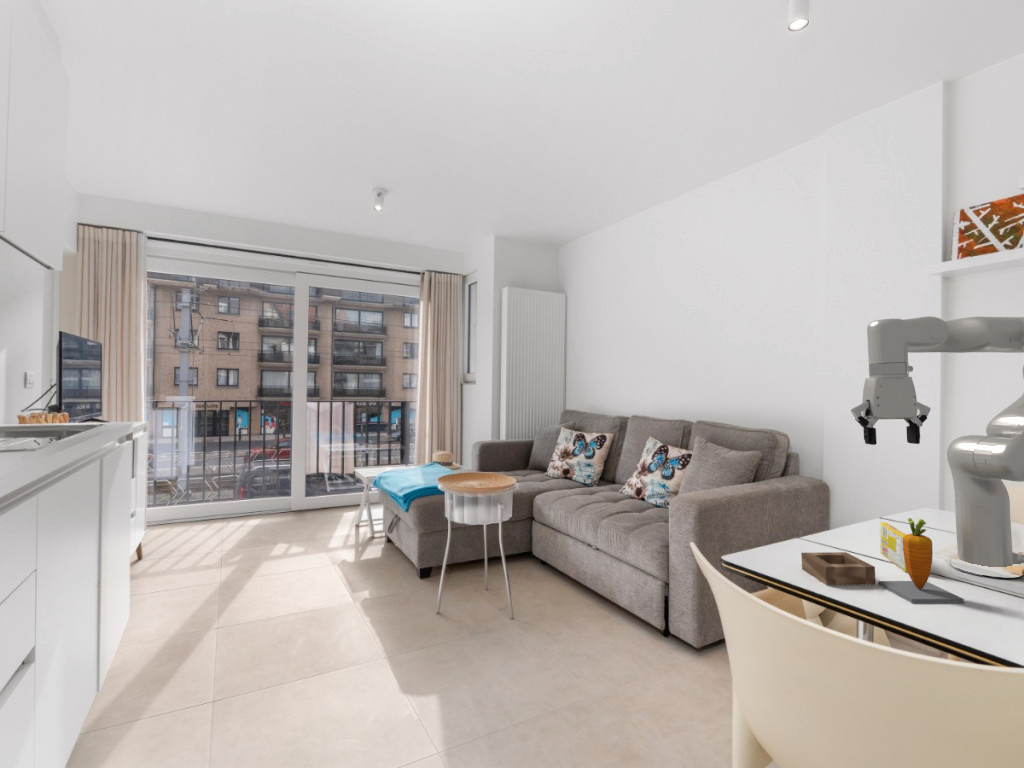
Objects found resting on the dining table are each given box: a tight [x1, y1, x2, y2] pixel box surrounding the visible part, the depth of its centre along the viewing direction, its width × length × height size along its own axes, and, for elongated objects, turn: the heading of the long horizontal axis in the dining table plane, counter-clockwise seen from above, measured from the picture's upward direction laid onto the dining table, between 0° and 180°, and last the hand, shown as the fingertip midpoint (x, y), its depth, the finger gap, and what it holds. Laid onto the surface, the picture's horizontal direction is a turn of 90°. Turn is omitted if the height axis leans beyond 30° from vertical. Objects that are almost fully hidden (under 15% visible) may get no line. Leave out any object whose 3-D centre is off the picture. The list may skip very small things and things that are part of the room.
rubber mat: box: [877, 580, 965, 604], centre depth 106 cm, size 10×10×1 cm
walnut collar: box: [800, 551, 877, 586], centre depth 116 cm, size 10×10×4 cm
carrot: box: [903, 517, 933, 590], centre depth 106 cm, size 5×5×15 cm
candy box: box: [879, 521, 908, 574], centre depth 125 cm, size 16×2×8 cm, turn 161°
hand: (892, 443), depth 118 cm, fingers open, 9 cm apart
